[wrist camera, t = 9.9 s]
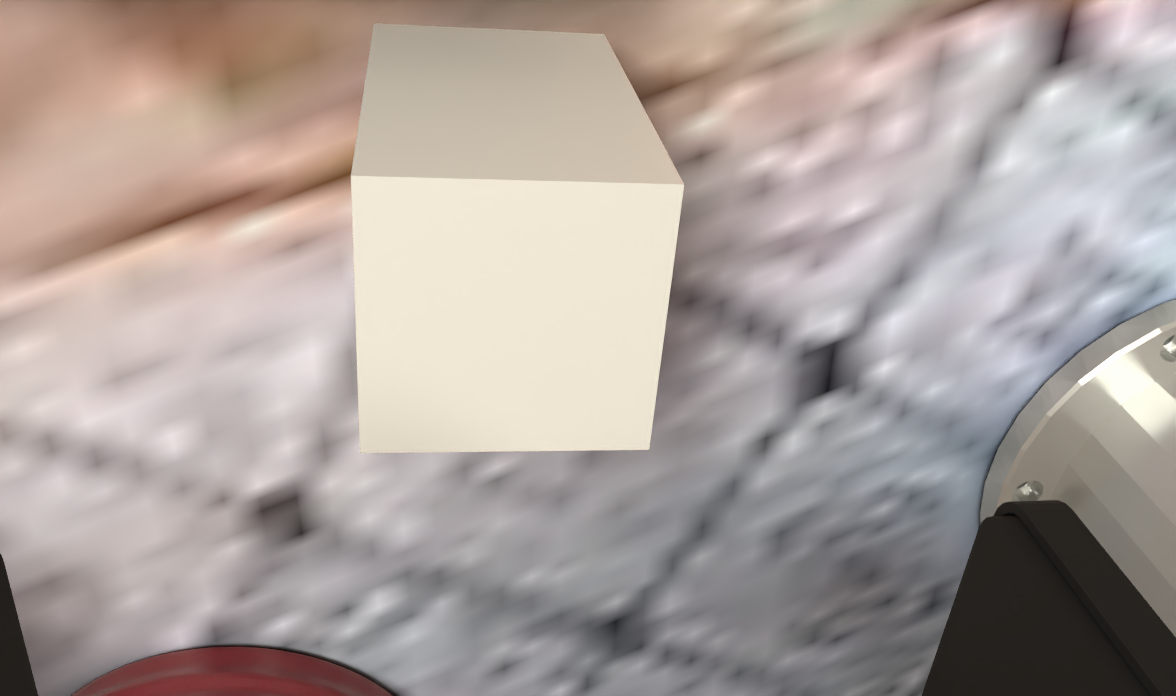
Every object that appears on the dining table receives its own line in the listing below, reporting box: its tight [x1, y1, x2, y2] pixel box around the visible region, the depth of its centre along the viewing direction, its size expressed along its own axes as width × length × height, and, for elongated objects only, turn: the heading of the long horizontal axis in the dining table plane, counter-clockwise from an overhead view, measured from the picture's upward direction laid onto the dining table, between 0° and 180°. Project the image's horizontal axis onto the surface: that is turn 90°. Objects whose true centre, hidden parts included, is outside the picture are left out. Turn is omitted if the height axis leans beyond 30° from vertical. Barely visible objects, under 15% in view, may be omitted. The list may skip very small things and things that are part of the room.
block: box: [351, 23, 684, 453], centre depth 20 cm, size 5×5×10 cm
